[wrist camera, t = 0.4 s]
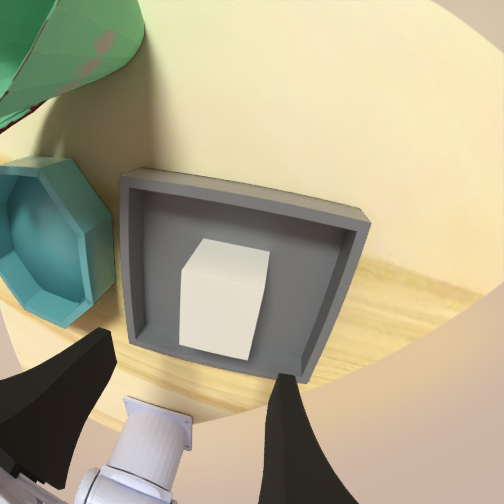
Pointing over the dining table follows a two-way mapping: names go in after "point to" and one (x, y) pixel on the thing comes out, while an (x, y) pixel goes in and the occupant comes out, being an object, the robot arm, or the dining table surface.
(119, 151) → the dining table surface
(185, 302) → the off-white smooth cube
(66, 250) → the bowl
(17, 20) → the mug
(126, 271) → the parts tray
